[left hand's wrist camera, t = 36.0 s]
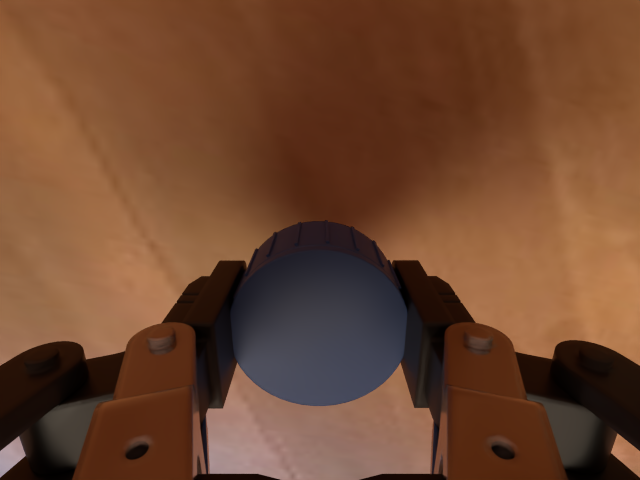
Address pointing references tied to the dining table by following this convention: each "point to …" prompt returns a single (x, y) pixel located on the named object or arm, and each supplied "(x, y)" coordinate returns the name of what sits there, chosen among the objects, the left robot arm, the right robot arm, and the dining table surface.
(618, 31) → the dining table surface
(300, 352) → the cap
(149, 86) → the dining table surface
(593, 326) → the dining table surface
